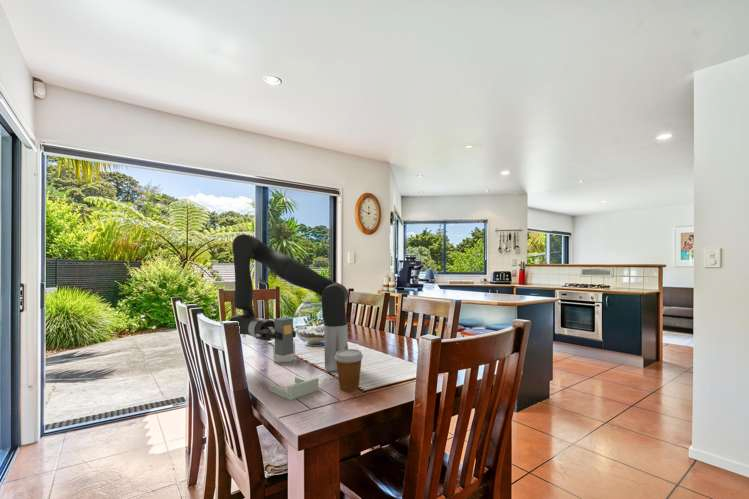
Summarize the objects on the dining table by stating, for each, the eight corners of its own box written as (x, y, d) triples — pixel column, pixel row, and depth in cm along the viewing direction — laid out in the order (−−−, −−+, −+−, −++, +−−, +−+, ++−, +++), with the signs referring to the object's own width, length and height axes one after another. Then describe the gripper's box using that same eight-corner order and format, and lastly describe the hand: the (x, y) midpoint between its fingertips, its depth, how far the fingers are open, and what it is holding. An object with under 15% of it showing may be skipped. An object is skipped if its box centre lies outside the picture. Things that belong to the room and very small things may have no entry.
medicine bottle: (280, 357, 164) (279, 330, 164) (295, 357, 163) (295, 330, 163) (273, 362, 156) (272, 333, 157) (289, 362, 156) (289, 334, 156)
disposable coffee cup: (357, 394, 119) (357, 357, 119) (330, 392, 122) (329, 355, 122) (367, 384, 128) (366, 349, 128) (341, 382, 131) (340, 348, 131)
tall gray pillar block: (275, 353, 128) (274, 318, 128) (286, 350, 131) (285, 316, 131) (282, 356, 124) (281, 320, 125) (293, 353, 128) (293, 318, 128)
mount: (269, 390, 124) (269, 378, 124) (297, 381, 132) (297, 370, 132) (290, 400, 116) (290, 387, 116) (318, 389, 124) (318, 377, 124)
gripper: (244, 321, 133) (269, 327, 121) (279, 316, 143) (305, 321, 131) (244, 342, 133) (269, 351, 121) (279, 335, 143) (306, 342, 131)
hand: (288, 335), depth 126 cm, fingers closed on tall gray pillar block, 4 cm apart
